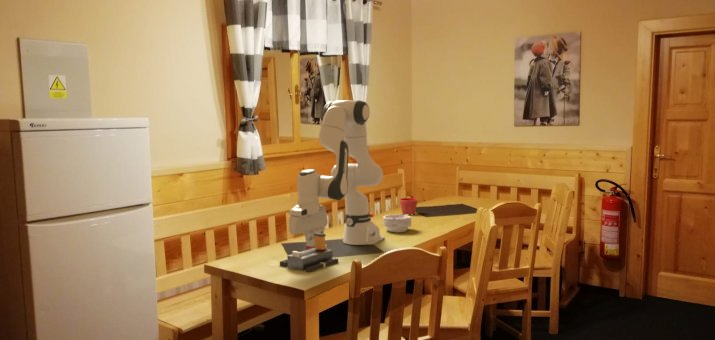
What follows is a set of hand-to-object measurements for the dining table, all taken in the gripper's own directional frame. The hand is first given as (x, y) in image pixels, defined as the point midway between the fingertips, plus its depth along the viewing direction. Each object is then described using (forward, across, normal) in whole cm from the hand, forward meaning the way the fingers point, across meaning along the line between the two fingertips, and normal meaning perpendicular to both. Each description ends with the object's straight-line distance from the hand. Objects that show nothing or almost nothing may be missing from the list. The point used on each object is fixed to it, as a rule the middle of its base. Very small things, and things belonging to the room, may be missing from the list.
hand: (309, 240), depth 231 cm
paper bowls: (+12, -75, -7) cm, 77 cm away
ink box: (+11, -18, -14) cm, 26 cm away
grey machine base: (+10, +1, +1) cm, 10 cm away
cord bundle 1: (+10, +1, -7) cm, 12 cm away
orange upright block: (+5, -6, +1) cm, 7 cm away
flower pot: (+13, -118, -28) cm, 122 cm away
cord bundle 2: (+10, +1, +8) cm, 13 cm away
